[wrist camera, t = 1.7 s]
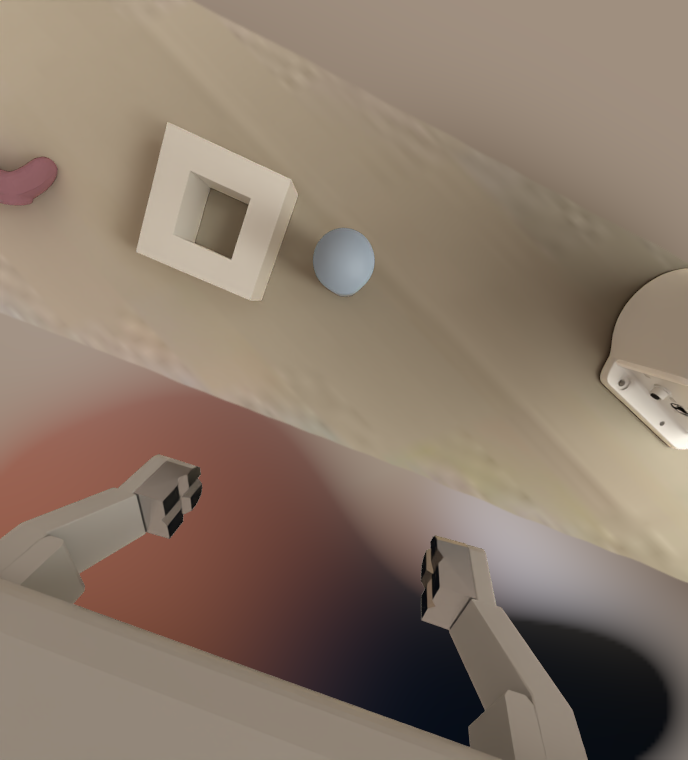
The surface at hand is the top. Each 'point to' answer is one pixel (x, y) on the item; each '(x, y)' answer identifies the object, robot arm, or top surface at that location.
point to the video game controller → (27, 181)
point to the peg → (343, 261)
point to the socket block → (186, 206)
